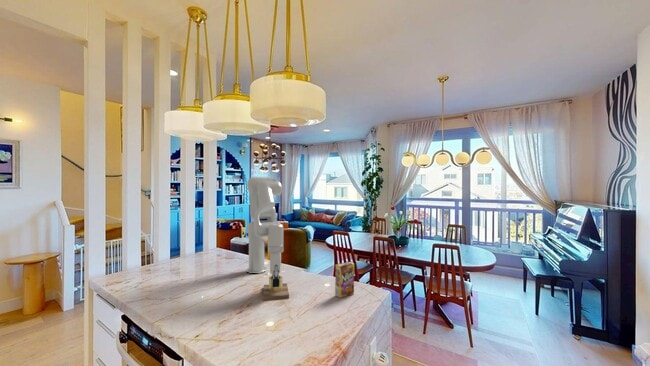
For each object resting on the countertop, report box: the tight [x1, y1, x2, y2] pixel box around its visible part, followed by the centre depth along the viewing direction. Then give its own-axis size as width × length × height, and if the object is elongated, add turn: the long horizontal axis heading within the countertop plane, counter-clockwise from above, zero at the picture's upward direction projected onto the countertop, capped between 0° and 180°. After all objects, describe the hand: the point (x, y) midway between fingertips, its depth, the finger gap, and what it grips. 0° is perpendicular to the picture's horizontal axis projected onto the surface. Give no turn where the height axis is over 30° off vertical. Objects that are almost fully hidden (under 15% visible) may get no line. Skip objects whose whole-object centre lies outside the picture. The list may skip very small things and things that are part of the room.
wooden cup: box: [268, 275, 284, 292], centre depth 130 cm, size 7×7×6 cm
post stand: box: [262, 282, 290, 301], centre depth 130 cm, size 16×12×8 cm
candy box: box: [334, 261, 355, 299], centre depth 127 cm, size 9×4×15 cm, turn 123°
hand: (275, 283), depth 130 cm, fingers open, 8 cm apart
